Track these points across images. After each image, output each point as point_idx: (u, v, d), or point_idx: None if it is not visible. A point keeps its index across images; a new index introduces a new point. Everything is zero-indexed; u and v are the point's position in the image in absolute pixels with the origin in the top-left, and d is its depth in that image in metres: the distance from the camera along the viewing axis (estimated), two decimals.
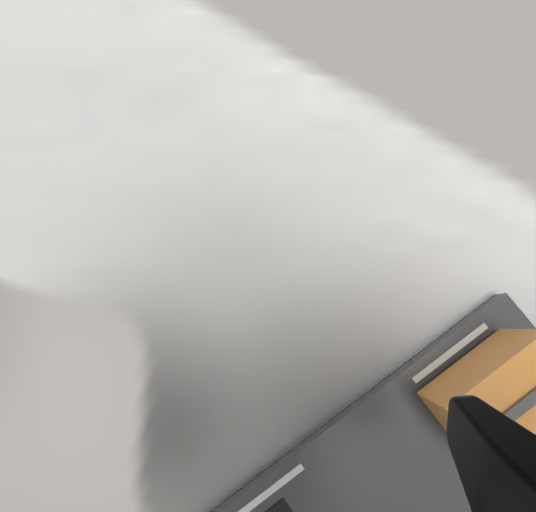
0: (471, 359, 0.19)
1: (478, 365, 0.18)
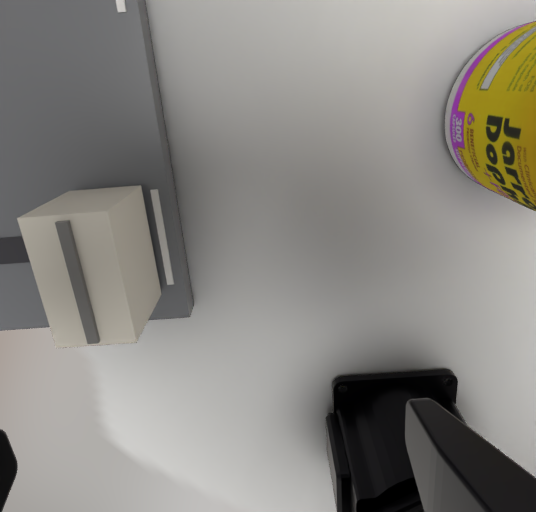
0: None
1: None
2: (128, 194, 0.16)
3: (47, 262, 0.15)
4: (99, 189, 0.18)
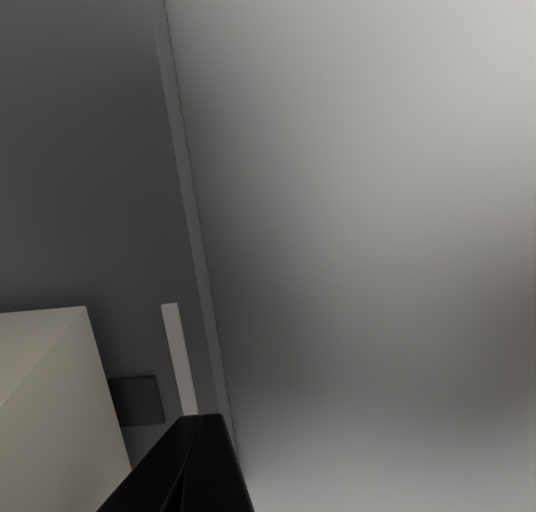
0: None
1: None
2: (40, 357, 0.06)
3: None
4: None
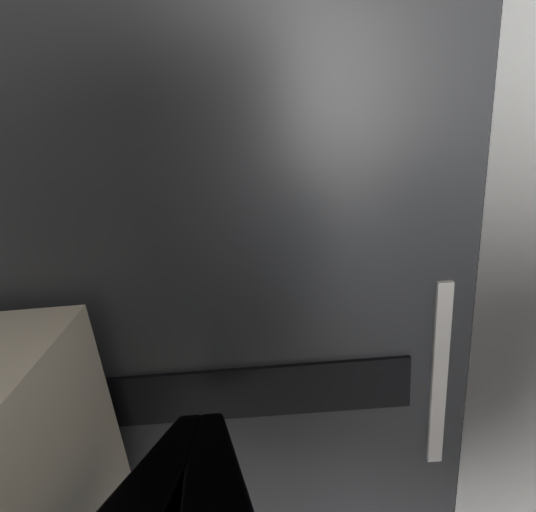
0: None
1: None
2: (40, 355, 0.06)
3: None
4: None
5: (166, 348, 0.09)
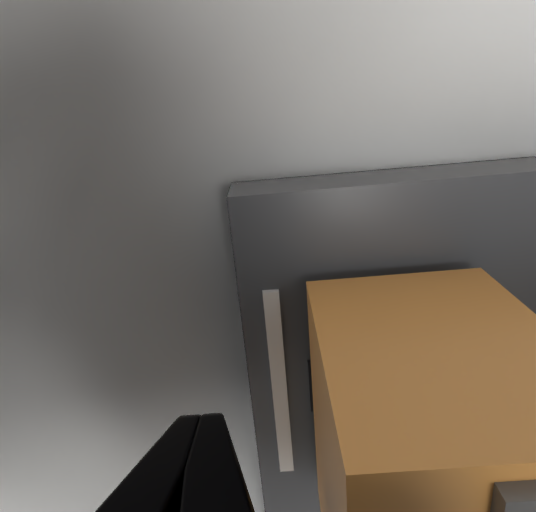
0: (319, 436, 0.07)
1: (329, 508, 0.06)
2: None
3: None
4: None
5: None
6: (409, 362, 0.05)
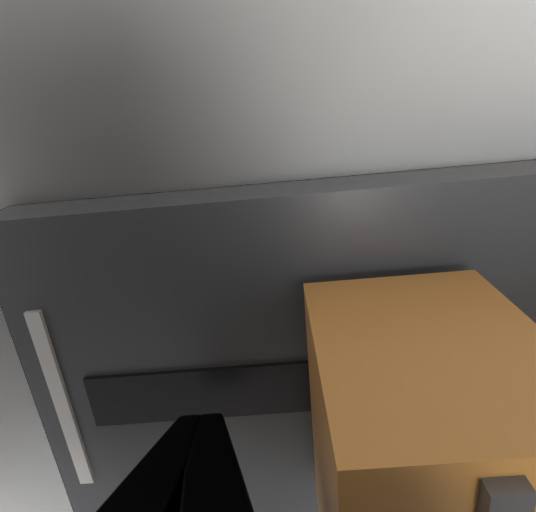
0: (316, 435, 0.07)
1: (325, 506, 0.06)
2: None
3: None
4: None
5: None
6: (402, 363, 0.05)
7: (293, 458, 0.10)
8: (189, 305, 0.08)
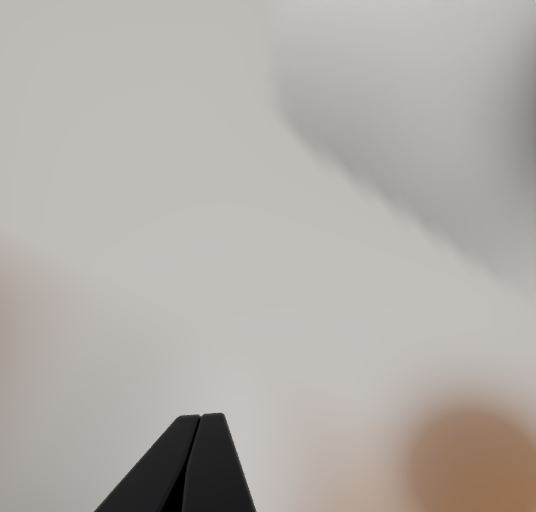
0: None
1: None
2: None
3: None
4: None
5: None
6: None
7: None
8: None
